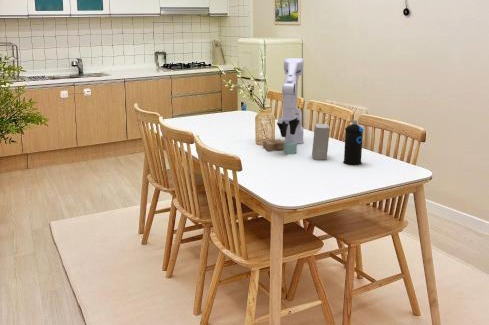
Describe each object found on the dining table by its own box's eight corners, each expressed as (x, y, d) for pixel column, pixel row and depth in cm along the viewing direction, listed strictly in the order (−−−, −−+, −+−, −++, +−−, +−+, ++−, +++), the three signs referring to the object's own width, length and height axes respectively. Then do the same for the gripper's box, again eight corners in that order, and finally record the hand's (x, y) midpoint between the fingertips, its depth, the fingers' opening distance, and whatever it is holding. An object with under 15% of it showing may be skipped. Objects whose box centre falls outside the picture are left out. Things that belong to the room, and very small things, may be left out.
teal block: (293, 151, 261) (293, 141, 260) (296, 154, 256) (296, 144, 255) (283, 152, 260) (283, 142, 259) (286, 154, 255) (286, 144, 254)
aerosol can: (341, 164, 239) (343, 120, 233) (345, 159, 246) (347, 117, 241) (359, 166, 236) (362, 122, 230) (362, 161, 243) (365, 118, 238)
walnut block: (279, 146, 272) (279, 139, 271) (285, 150, 263) (285, 143, 262) (263, 147, 269) (263, 140, 268) (268, 152, 261) (268, 144, 260)
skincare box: (311, 155, 254) (312, 123, 249) (326, 155, 254) (327, 123, 249) (313, 160, 246) (314, 126, 241) (328, 160, 245) (330, 126, 241)
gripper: (290, 105, 261) (289, 132, 264) (273, 109, 250) (272, 137, 254) (302, 106, 256) (301, 134, 260) (285, 110, 246) (284, 139, 249)
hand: (288, 135), depth 256 cm, fingers open, 7 cm apart
